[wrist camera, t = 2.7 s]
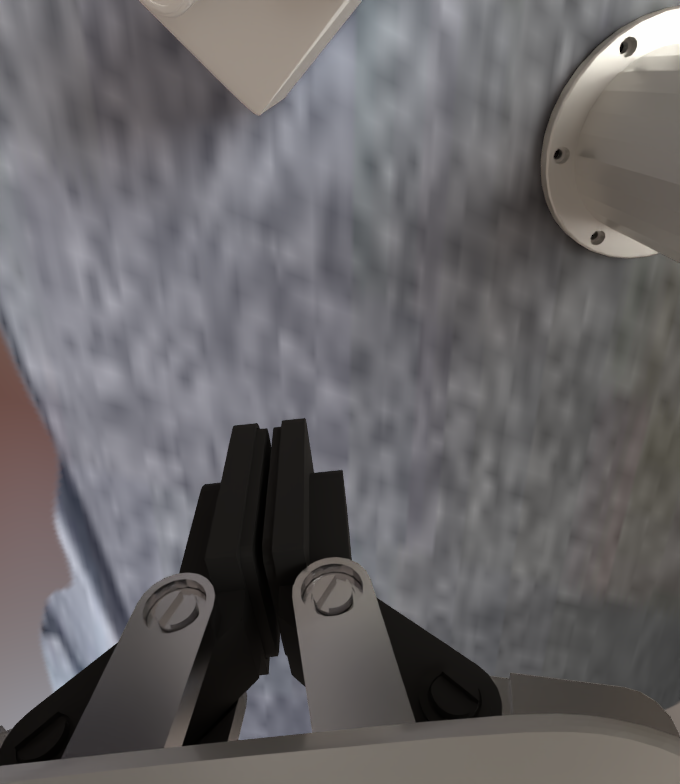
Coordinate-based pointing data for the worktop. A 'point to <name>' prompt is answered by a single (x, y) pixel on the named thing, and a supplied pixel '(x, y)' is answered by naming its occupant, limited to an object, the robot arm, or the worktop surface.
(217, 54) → the milk carton
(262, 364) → the worktop surface
